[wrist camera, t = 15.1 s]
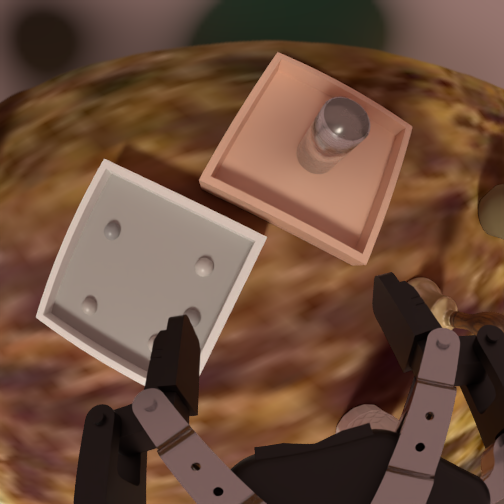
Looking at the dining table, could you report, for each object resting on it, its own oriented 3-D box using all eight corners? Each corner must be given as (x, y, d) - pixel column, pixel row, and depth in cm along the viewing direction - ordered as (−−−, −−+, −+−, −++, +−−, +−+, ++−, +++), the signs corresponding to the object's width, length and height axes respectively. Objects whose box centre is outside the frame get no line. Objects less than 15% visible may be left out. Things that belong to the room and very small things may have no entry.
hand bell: (412, 357, 32) (503, 395, 16) (379, 312, 32) (477, 336, 16) (450, 309, 33) (544, 323, 17) (421, 263, 33) (522, 258, 17)
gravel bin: (51, 313, 29) (35, 317, 25) (115, 169, 30) (104, 158, 27) (188, 391, 30) (184, 405, 26) (262, 240, 31) (267, 237, 28)
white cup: (321, 420, 31) (353, 465, 21) (379, 387, 32) (424, 420, 22) (340, 460, 31) (370, 505, 21) (392, 430, 32) (432, 466, 22)
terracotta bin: (201, 189, 31) (198, 179, 28) (273, 68, 33) (277, 52, 29) (352, 265, 32) (366, 264, 29) (398, 137, 34) (412, 126, 30)
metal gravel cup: (290, 162, 31) (314, 124, 22) (305, 130, 31) (332, 87, 22) (326, 181, 31) (362, 151, 22) (340, 149, 32) (376, 113, 23)
